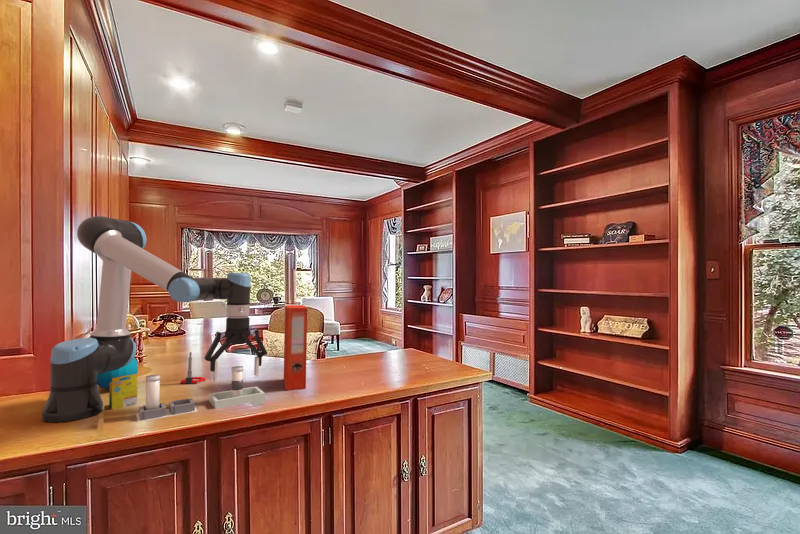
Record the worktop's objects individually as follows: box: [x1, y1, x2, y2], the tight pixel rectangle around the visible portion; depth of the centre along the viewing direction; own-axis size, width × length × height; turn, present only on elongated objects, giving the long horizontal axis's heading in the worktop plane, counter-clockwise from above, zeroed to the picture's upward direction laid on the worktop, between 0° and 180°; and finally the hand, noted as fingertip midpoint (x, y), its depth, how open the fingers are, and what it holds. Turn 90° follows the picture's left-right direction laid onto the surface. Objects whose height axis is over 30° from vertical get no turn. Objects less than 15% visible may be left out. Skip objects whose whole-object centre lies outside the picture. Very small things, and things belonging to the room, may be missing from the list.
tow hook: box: [180, 351, 206, 385], centre depth 168 cm, size 8×13×9 cm
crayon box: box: [108, 373, 138, 411], centre depth 131 cm, size 7×3×12 cm, turn 141°
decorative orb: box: [97, 357, 139, 390], centre depth 155 cm, size 15×15×15 cm
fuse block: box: [135, 397, 198, 423], centre depth 124 cm, size 16×8×4 cm, turn 126°
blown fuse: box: [230, 365, 244, 398], centre depth 137 cm, size 4×4×12 cm
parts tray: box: [208, 385, 266, 409], centre depth 137 cm, size 16×10×4 cm, turn 126°
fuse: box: [145, 374, 161, 410], centre depth 122 cm, size 4×4×12 cm
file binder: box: [283, 304, 308, 391], centre depth 164 cm, size 8×17×32 cm, turn 19°
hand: (236, 378), depth 137 cm, fingers open, 13 cm apart
